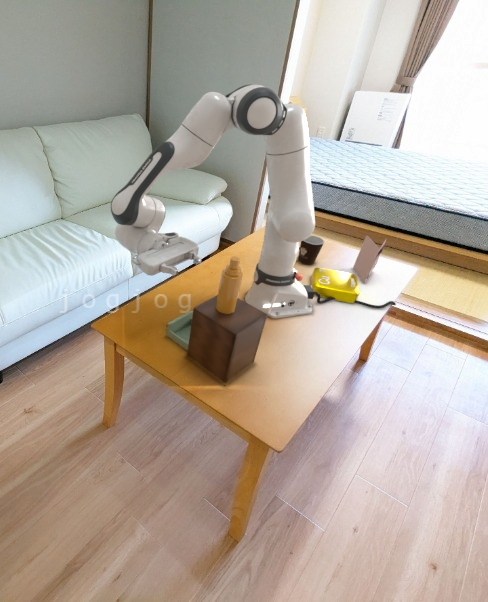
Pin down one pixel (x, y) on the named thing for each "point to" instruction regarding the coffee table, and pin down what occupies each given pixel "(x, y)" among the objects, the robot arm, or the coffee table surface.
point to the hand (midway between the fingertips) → (188, 267)
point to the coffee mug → (310, 249)
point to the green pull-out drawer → (180, 329)
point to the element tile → (335, 284)
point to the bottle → (229, 287)
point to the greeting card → (367, 259)
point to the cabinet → (225, 337)
